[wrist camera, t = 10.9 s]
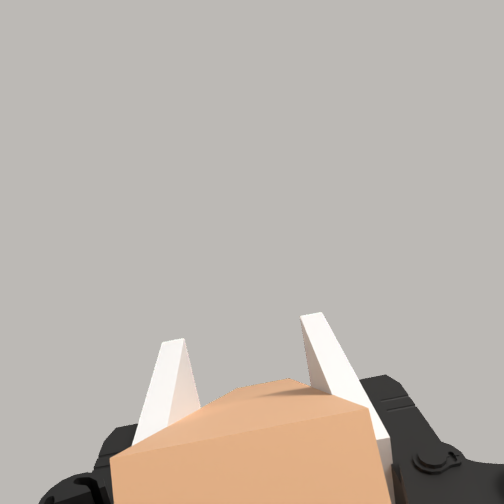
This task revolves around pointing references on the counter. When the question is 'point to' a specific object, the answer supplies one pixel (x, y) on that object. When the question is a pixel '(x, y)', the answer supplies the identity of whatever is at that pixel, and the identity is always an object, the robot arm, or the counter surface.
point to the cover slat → (258, 453)
